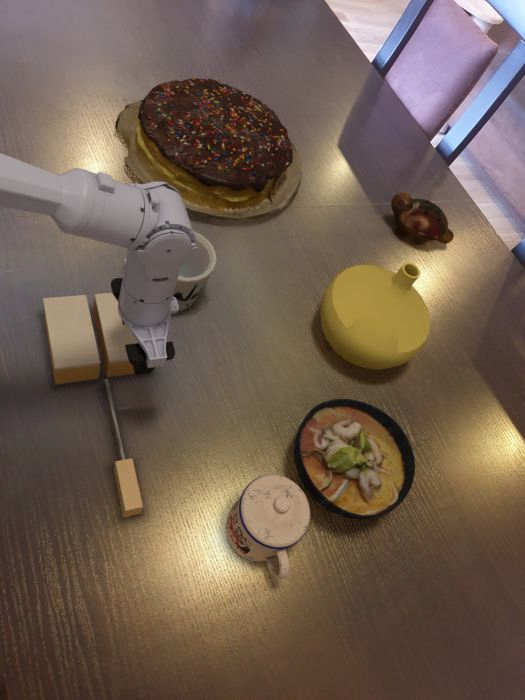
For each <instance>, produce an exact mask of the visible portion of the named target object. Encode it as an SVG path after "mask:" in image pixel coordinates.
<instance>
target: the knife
mask: <svg viewBox="0 0 525 700" xmlns="http://www.w3.org/2000/svg"><path fill="white" fill-rule="evenodd" d="M103 393H104V397H105V401H106V406H107V411H108V412H107V413H108V416H109V422H110V425H111V430H112V435H113V440H114V445H115V450H116V454H117V459H118V460H116V461H115V462H114V466H113V475H114V479H115V480H114V481H115V484H116V485H115V486H116V490H117V496H118V499H119V505H120V510H121V514H122V518H123V519H125V518H130V517H132V516H137V515H140V514H141V513H142V510H143V508H144V504H143V500H142V495H141V491H140V486H139V481H138V478H137V472H136V467H135V464H134V458H132V457H131V458H126V457H125V451H124V447H123V443H122V438H121V434H120V428H119V423H118V419H117V415H116V410H115V405H114V400H113V396H112V391H111V386H110V382H109V378H105V379H104V384H103Z"/></svg>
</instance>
